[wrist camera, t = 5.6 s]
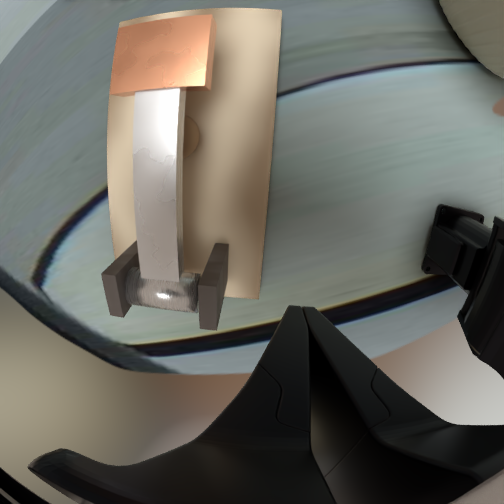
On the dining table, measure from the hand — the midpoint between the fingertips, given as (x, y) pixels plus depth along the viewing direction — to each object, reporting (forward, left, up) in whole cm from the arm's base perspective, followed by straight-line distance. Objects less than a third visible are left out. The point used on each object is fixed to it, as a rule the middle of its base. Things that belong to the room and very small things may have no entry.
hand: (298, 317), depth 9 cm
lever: (+7, -3, -8) cm, 11 cm away
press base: (+7, -4, -13) cm, 15 cm away
